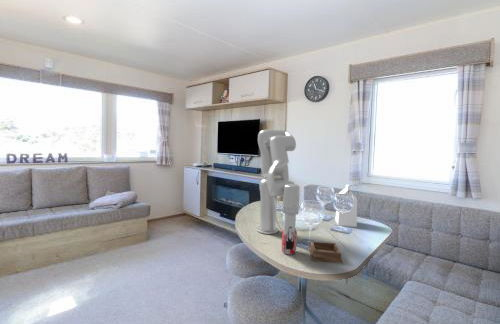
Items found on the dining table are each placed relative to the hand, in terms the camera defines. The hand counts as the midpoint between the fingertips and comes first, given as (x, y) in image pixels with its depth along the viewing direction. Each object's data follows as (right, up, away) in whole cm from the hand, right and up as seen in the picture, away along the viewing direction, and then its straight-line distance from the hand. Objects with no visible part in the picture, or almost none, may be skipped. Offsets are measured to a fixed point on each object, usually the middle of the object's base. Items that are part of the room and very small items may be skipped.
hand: (289, 245), depth 126 cm
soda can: (0, -4, 0) cm, 4 cm away
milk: (+45, -1, +48) cm, 66 cm away
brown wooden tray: (+17, -4, -2) cm, 17 cm away
